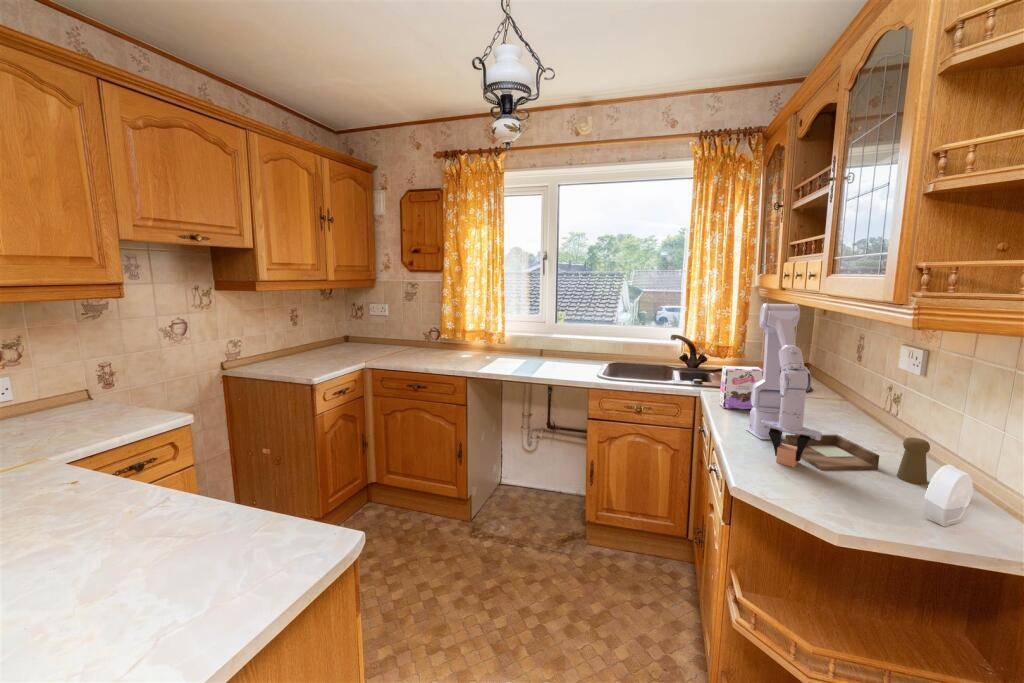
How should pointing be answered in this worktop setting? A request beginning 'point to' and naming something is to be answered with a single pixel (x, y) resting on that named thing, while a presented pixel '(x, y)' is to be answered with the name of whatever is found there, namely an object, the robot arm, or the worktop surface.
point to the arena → (835, 453)
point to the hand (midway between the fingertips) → (787, 457)
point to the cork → (914, 461)
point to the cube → (786, 455)
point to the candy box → (738, 386)
